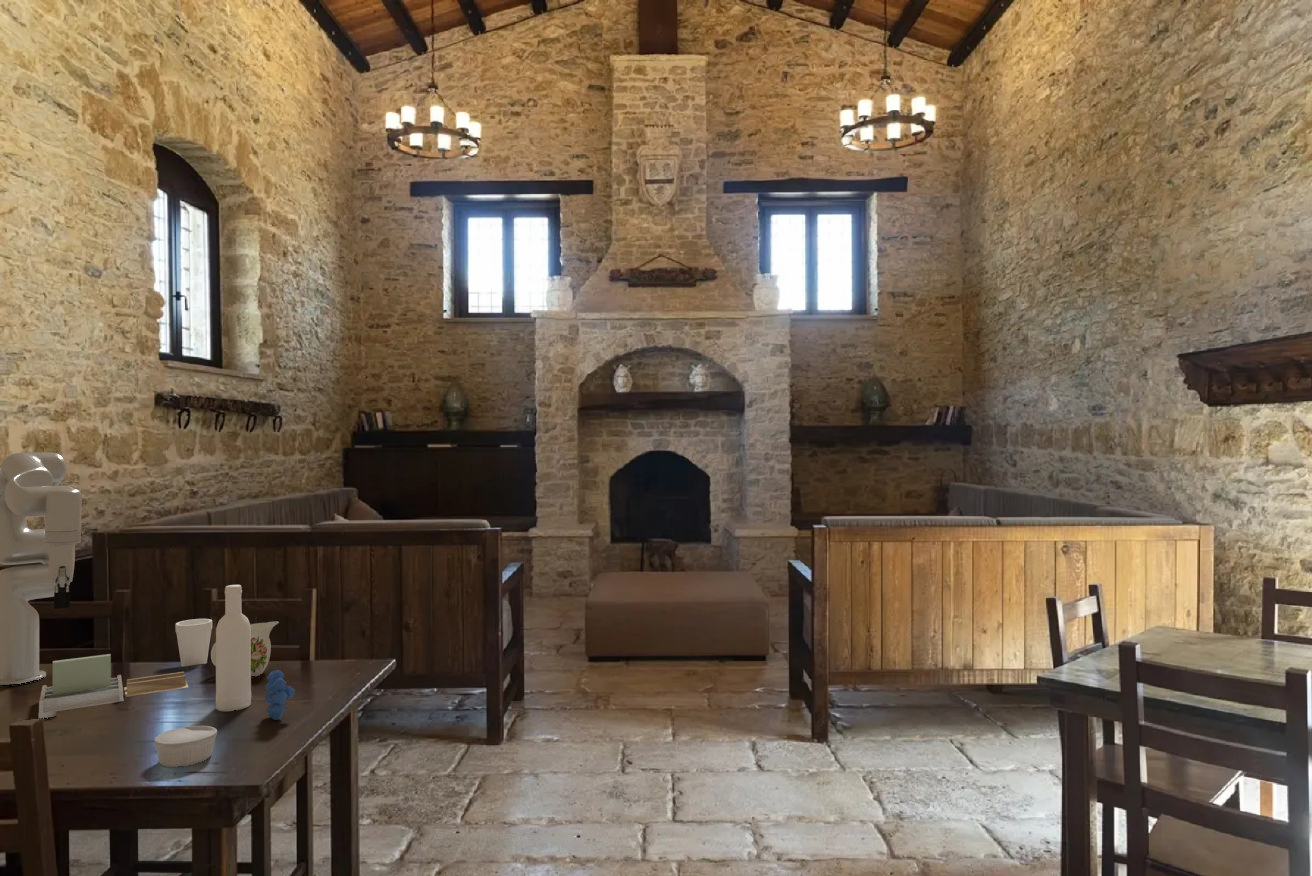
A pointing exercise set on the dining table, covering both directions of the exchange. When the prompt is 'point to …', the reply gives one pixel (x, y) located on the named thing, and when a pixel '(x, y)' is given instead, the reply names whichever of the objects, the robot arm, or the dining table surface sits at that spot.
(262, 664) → the pitcher
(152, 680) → the stand
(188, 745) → the ramekin
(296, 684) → the dining table surface
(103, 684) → the sage green plank
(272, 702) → the grapes
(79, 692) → the rack
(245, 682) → the bottle
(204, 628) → the foam cup
